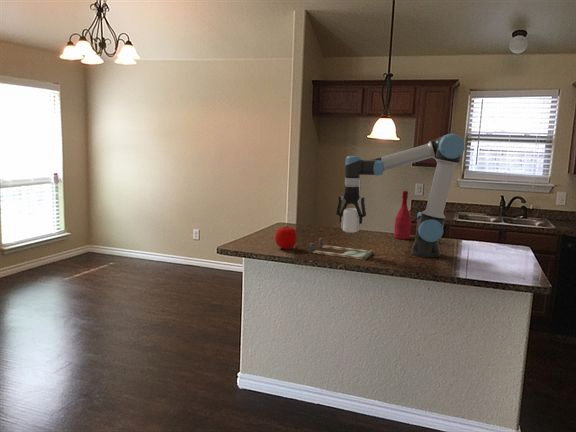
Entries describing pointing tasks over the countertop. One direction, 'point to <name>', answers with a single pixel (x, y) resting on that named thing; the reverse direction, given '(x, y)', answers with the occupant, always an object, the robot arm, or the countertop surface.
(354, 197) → the robot arm
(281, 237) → the tomato
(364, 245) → the countertop surface
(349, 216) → the beverage can
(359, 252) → the bay
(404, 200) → the wine bottle
